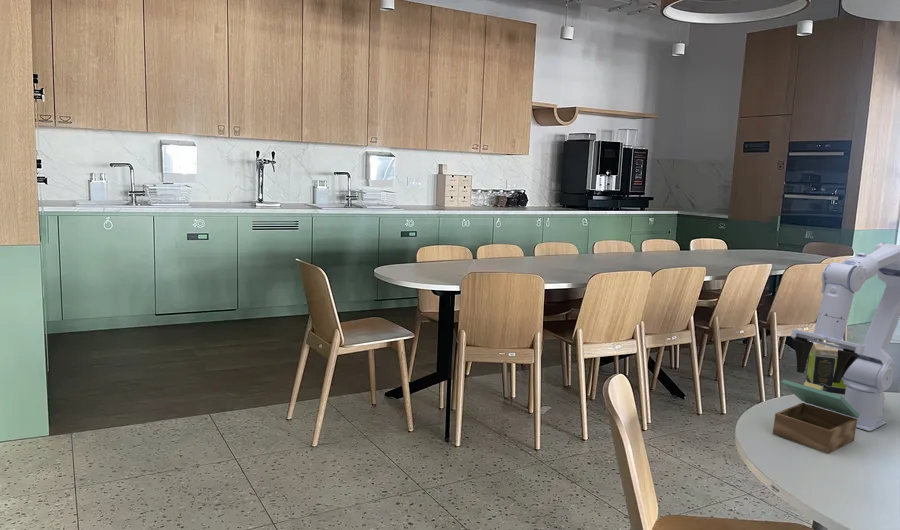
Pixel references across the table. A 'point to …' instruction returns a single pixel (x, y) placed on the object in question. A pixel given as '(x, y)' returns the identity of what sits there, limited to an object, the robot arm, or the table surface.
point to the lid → (820, 398)
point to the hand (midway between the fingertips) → (817, 377)
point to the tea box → (824, 368)
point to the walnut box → (815, 427)
